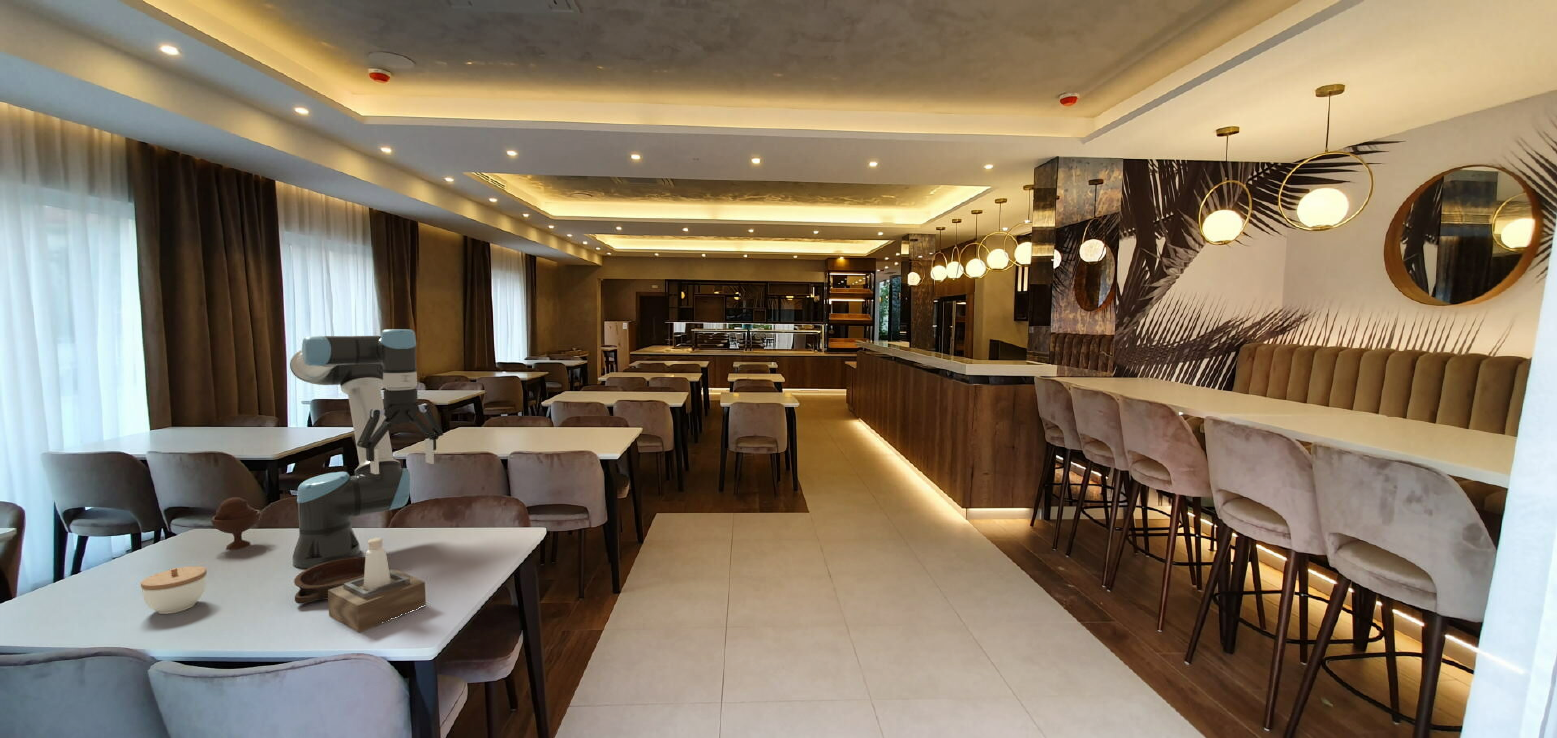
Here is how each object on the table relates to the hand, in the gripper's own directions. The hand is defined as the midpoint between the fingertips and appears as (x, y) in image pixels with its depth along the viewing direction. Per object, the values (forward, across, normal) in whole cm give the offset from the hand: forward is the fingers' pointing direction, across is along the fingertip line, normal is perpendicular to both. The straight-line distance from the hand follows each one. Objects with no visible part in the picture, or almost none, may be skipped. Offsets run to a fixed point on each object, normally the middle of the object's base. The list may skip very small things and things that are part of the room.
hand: (403, 468), depth 157 cm
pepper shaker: (+22, -15, -18) cm, 32 cm away
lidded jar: (+29, -40, +23) cm, 54 cm away
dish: (+29, -14, +3) cm, 32 cm away
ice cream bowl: (+29, -18, +60) cm, 69 cm away
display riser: (+28, -15, -18) cm, 36 cm away
